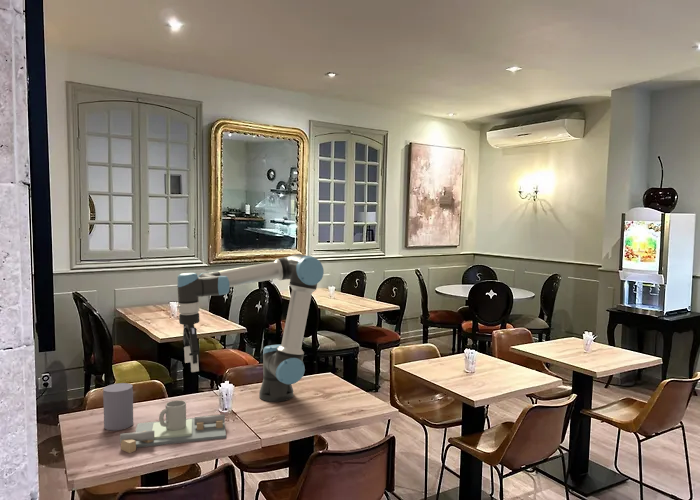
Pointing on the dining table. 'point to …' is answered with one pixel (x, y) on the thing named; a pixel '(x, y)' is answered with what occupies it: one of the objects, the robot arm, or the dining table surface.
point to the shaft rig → (174, 433)
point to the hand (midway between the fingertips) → (191, 366)
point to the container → (118, 406)
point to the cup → (174, 415)
